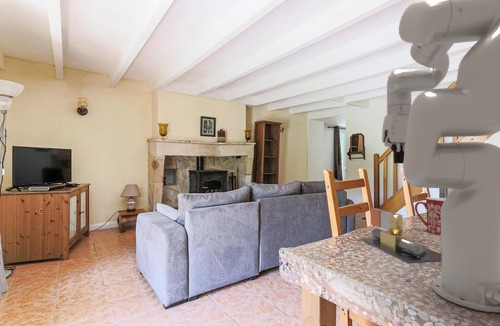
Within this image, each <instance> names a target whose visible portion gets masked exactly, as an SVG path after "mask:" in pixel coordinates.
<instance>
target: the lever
mask: <svg viewBox="0 0 500 326" xmlns="http://www.w3.org/2000/svg"><path fill="white" fill-rule="evenodd" d="M403 217H404V216H403V214H401V213H392V212H390V211H386V210H385V209H380V208H375V207H373V208H370V225H372V226H375V227H376V228H379V229H382V230H385V231H390V232H391V233H394V234H402V233H404V231H403V229H404V228H403V223H404V221H403V220H404V219H403Z"/></svg>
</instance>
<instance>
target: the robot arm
mask: <svg viewBox="0 0 500 326" xmlns="http://www.w3.org/2000/svg"><path fill="white" fill-rule="evenodd" d="M398 34H399V35H398V36H399V37H400V39H401V40H402V41H403V42H406V43H408V44H411V47H410V51H409V52H410V56H411V58H412V60H413V61H415V62H416V63H418V65H421V66H418V67H417V66H416V67H406V68H404V67H403V68H402V67H401V68H396V69H394V70H393V71H391V73H390V74H389V76H388V77H387V78H388V79H387V81H386V115H384V119H383V122H382V129H381V130H382V132H381V141H382V143H383V144H384V147H387V148H390V150H391V152H392V153H393V164H403V167H402V168H403V175H404V178H405V180H406V182H407V183H408V184H409V185H411V186H413V187H416V188H426V189H429V188H430V189H451V191H450V193H449V194H448V195H447V196H446V199H445V201H444V202H443V205H442V208H441V235H440V254H441V261H440V277H438V278H435V279H434V280H432V282H431V284H432V285H431V287H432V290H433V291H434V293H436V294H437V295H438V296H439V297H441V298H443V299H444V300H447V301H449V302H451V303H453V304H456V305H458V306H461V307H465V308H467V309H470V310H475V311H481V312H488V313H500V147H499V146H497V145H495V144H493V143H488V142H480V141H469V142H468V141H461V142H459V141H457V142H456V141H455V142H454V141H453V142H439V141H440V140H441V138H452V137H453V138H454V137H460V138H461V137H465V138H466V137H483V136H490V135H494V134H497V133H499V132H500V0H417V1H414V2H411V3H410V4H409V5H408V6H407V7H406V8H405V10H404V12H403V13H402V15H401V17H400V20H399V25H398ZM468 42H470V43H471V42H476V43H474V44H473V45H472V47H470V49H469V50H468V51H467V52H466V53H465V54H464V56H463V57H462V59H461V60H460V62H459V64H458V69H457V77H456V82H455V85H454V87H443V88H436V87H437V86H438V85H439V84H440V83H442V81H443V80H444V79H445V78H446V76H447V74H448V71H449V68H450V58H449V55H448V51H449V50H451V48H452V47H453V46H454V44H461V43H468ZM412 92H413V93H414V92H421V93H419V94H418V95H417V96H416V97H415V99H414V100H413V102H412Z"/></svg>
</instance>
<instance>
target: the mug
mask: <svg viewBox="0 0 500 326" xmlns="http://www.w3.org/2000/svg"><path fill="white" fill-rule="evenodd" d="M446 198H447V197H446ZM446 198H445V197H425V201H426V202H425V201H417V202H416V203H415V205H414V210H415V213H416V215H417V217H418V218H419V220H420V221H421V222H422V223H423V225H425V226H426V228H427V232H428V233H430V234H434V235H440V236H441V208H442V205H443V202H444V201H445V199H446ZM420 204H422V205H423V206H424V208H425V210H426V221H425V219H424V218H423V217H422V216H421V214H420V213H419V211H418V205H420Z"/></svg>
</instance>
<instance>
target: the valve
mask: <svg viewBox="0 0 500 326" xmlns="http://www.w3.org/2000/svg"><path fill="white" fill-rule="evenodd" d="M371 236H372V237H367V238H365V237H364V238H361V241H362V242H363V243H364V242H365V243H366V244H368V245H371V246H372V247H374V248H377V249H379V250H381V251H382V252H384V253H387V254H388V255H391V257H395V258H397V259H398V260H401V261H403V262H404V263H407V264H417V263H431V262H432V263H433V262H441V252H437V251H434V250H432V249H430V248H427V247H426V246H425V245H423V244H420V243H417V242H415V241H414V236H413V235H412V234H408V233H406V232H403V233H402V234H394V233H391V232H390V231H389V230H385V229H382V228H379V227H375V228H373V229H372V230H371Z"/></svg>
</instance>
